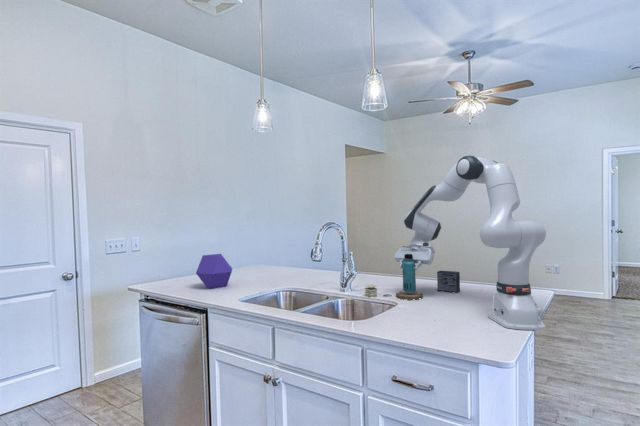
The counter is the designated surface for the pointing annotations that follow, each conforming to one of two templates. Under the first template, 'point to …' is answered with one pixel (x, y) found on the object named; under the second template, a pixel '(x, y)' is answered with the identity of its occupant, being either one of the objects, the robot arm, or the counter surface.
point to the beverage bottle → (409, 274)
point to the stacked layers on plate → (371, 291)
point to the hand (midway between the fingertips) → (408, 268)
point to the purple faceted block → (214, 271)
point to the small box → (448, 281)
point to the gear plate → (409, 295)
